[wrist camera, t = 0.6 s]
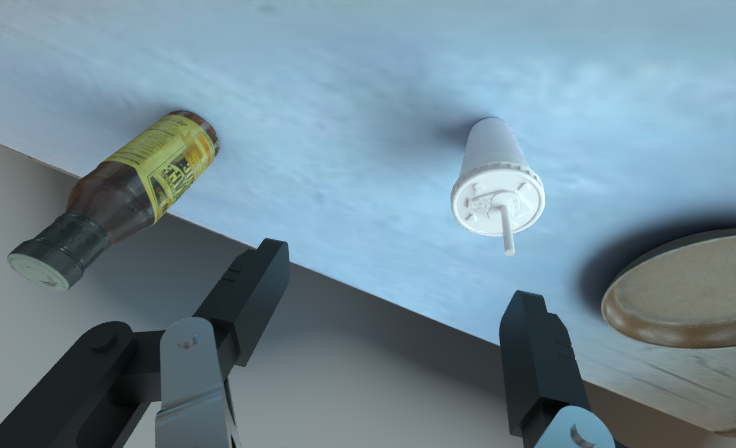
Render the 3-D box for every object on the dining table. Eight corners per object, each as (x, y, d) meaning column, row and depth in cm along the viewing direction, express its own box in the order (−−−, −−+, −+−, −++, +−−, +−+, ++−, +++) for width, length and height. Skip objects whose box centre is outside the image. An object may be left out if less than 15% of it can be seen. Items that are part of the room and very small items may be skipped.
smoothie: (517, 168, 33) (539, 288, 24) (449, 163, 34) (442, 276, 25) (537, 104, 29) (575, 219, 19) (458, 100, 30) (454, 208, 20)
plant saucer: (739, 340, 44) (755, 366, 42) (566, 312, 47) (572, 335, 45) (919, 224, 30) (957, 253, 28) (654, 194, 33) (668, 218, 30)
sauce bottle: (218, 167, 41) (91, 315, 27) (166, 141, 40) (4, 282, 26) (227, 123, 36) (80, 274, 22) (168, 92, 35) (-27, 232, 21)
